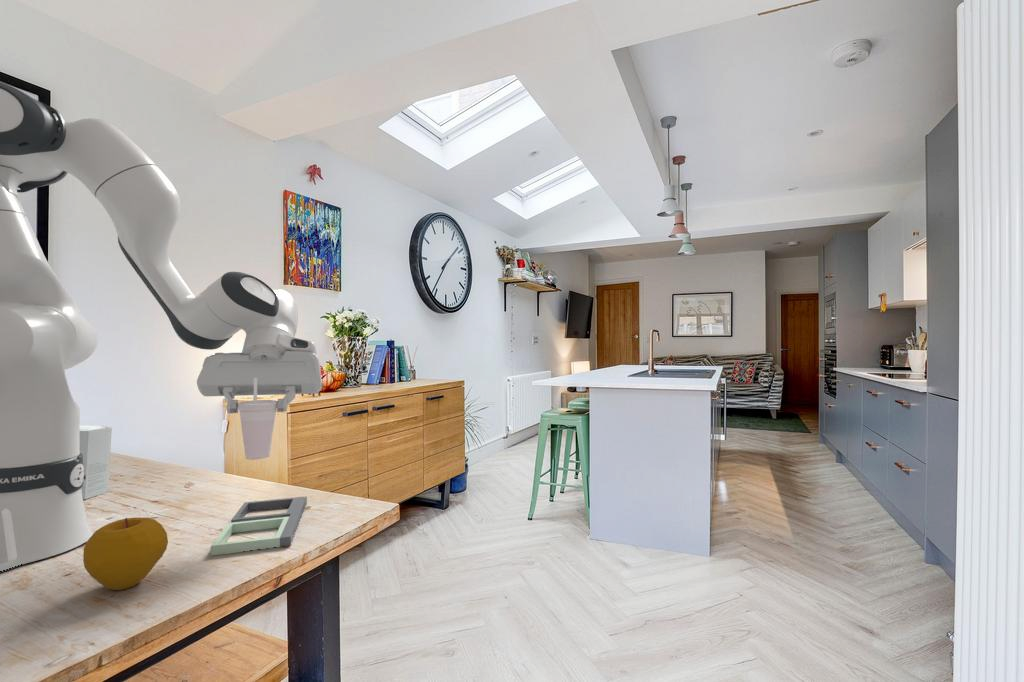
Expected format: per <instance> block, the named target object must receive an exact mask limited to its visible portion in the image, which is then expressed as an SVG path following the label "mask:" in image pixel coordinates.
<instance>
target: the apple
mask: <svg viewBox="0 0 1024 682" xmlns="http://www.w3.org/2000/svg"><path fill="white" fill-rule="evenodd" d="M168 540H169V539H168V533H167V531H166V529H165V528H164V527H163V525H162V524H161V523H160V522H159V521H157V520H156V519H154V518H149V517H125V518H123V519H118V520H114V521H112V522H110V523H109V522H108V523H107V524H105V525H103V526H101V527H100V528H98V529H97V530H95V531H94V532H93V535H92V536H91V537H90V538H89V540H88V541H86V542H85V545H84V547H83V555H82V556H83V560H82V561H83V566H84V569H85V570H86V572H87V573H88V574H89V576H90V577H91V578H93V579H94V580H95V581H96V582H97V583H99V584H100V585H102V586H103V587H105V588H106V589H108V590H113V591H123V590H127V589H130V588H132V587H134V586H136V585H137V584H138V583H140V582H141V581H142V580H144V579H145V578H146V576H148V574H149V573H150V572H151V571H152V570H153V568H154V567H155V566H156V564H157V563H158V562H159V561H160V560H161V558H162V557H163V556H164V554H165V552H166V551H167V548H168V544H169V541H168Z"/></svg>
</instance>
